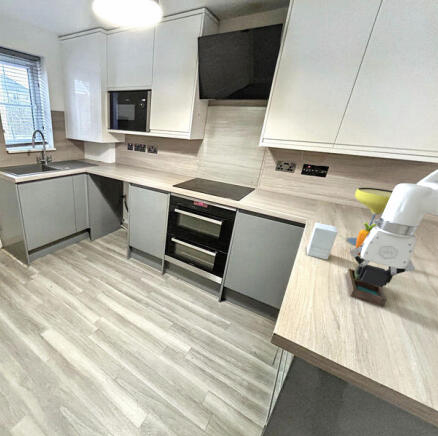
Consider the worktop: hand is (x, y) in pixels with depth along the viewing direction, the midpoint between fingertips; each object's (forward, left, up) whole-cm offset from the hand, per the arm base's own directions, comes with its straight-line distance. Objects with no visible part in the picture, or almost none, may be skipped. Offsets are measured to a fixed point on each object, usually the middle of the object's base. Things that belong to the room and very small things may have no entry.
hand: (370, 279), depth 74 cm
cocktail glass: (-5, -49, -6) cm, 49 cm away
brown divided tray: (0, -4, -6) cm, 7 cm away
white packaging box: (+13, -23, -6) cm, 27 cm away
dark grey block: (0, 0, 0) cm, 0 cm away
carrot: (-2, -34, -6) cm, 34 cm away
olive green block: (0, -7, -5) cm, 9 cm away
